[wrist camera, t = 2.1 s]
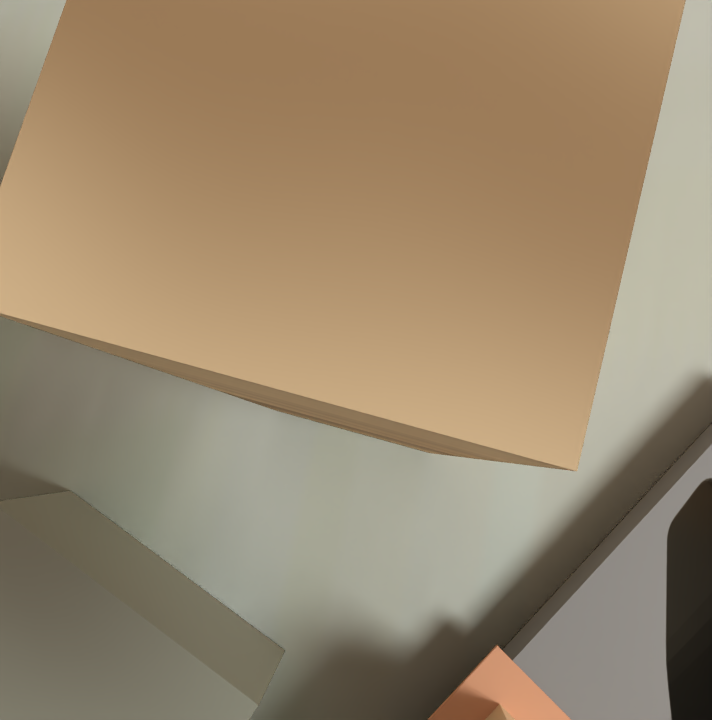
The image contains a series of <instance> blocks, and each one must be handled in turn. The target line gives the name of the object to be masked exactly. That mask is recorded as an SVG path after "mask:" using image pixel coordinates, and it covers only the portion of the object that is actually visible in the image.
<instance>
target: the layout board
mask: <svg viewBox="0 0 712 720" xmlns="http://www.w3.org/2000/svg"><path fill="white" fill-rule="evenodd" d="M707 478H712V423H711V424H710V425H709V427H708V428H707V429H706V430H705V431H704V432H703V433H702V434H701V435H700V436H699V437H698V438H697V440H696V441H695V442H694V443H693V444H692V445H691V446H690V447H689V448H688V449H687V450H686V451H685V453H684V454H683V455H682V456H681V457H680V458H679V459H678V460H677V461H676V462H675V463H674V464H673V466H672V467H671V468H670V469H669V470H668V471H667V472H666V473H665V474H664V475H663V476H662V477H661V479H660V480H659V481H658V482H657V483H656V484H655V485H654V486H653V487H652V488H651V489H650V490H649V492H648V493H647V494H646V495H645V496H644V497H643V498H642V499H641V500H640V501H639V502H638V503H637V505H636V506H635V507H634V508H633V509H632V510H631V511H630V512H629V513H628V514H627V515H626V516H625V518H624V519H623V520H622V521H621V522H620V523H619V524H618V525H617V526H616V527H615V528H614V529H613V531H612V532H611V533H610V534H609V535H608V536H607V537H606V538H605V539H604V540H603V541H602V542H601V544H600V545H599V546H598V547H597V548H596V549H595V550H594V551H593V552H592V553H591V554H590V555H589V557H588V558H587V559H586V560H585V561H584V562H583V563H582V564H581V565H580V566H579V567H578V568H577V570H576V571H575V572H574V573H573V574H572V575H571V576H570V577H569V578H568V579H567V580H566V581H565V583H564V584H563V585H562V586H561V587H560V588H559V589H558V590H557V591H556V592H555V593H554V594H553V596H552V597H551V598H550V599H549V600H548V601H547V602H546V603H545V604H544V605H543V606H542V607H541V609H540V610H539V611H538V612H537V613H536V614H535V615H534V616H533V617H532V618H531V619H530V620H529V622H528V623H527V624H526V625H525V626H524V627H523V628H522V629H521V630H520V631H519V632H518V633H517V635H516V636H515V637H514V638H513V639H512V640H511V641H510V642H509V643H508V644H507V645H506V646H505V648H504V649H503V650H502V649H501V648H500V647H499V646H498V645H496V646H495V647H494V648H493V649H492V650H491V651H490V652H489V654H488V655H487V656H486V657H485V658H484V659H483V660H482V661H481V662H480V663H479V664H478V665H477V667H476V668H475V669H474V670H473V671H472V672H471V673H470V674H469V675H468V676H467V677H466V678H465V679H464V681H463V682H462V683H461V684H460V685H459V686H458V687H457V688H456V689H455V690H454V691H453V692H452V694H451V695H450V696H449V697H448V698H447V699H446V700H445V701H444V702H443V703H442V704H441V705H440V707H439V708H438V709H437V710H436V711H435V712H434V713H433V714H432V715H431V716H430V717H429V718H428V720H672V719H671V710H670V700H669V691H668V680H667V668H666V567H667V534H668V530H669V526H670V524H671V522H672V520H673V518H674V517H675V516H676V514H677V513H678V512H679V510H680V509H681V508H682V506H683V505H684V504H685V502H686V501H687V500H688V498H689V497H690V496H691V494H692V493H693V492H694V491H695V489H696V488H697V487H698V485H699V484H700V483H701V482H702V481H704V480H705V479H707Z"/></svg>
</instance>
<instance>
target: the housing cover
mask: <svg viewBox="0 0 712 720" xmlns="http://www.w3.org/2000/svg"><path fill="white" fill-rule="evenodd" d="M284 652H285V650H284V649H282V648H281V647H280V646H278V645H277V644H276V643H274V642H273V641H272V640H270V639H269V638H268V637H266V636H265V635H264V634H262V633H261V632H260V631H258V630H257V629H255V628H254V627H253V626H251V625H250V624H249V623H247V622H246V621H245V620H243V619H242V618H241V617H239V616H238V615H237V614H235V613H234V612H233V611H231V610H230V609H229V608H227V607H226V606H225V605H223V604H222V603H221V602H219V601H218V600H217V599H215V598H214V597H213V596H211V595H210V594H209V593H207V592H206V591H204V590H203V589H202V588H200V587H199V586H198V585H196V584H195V583H194V582H192V581H191V580H190V579H188V578H187V577H186V576H184V575H183V574H182V573H180V572H179V571H178V570H176V569H175V568H174V567H172V566H171V565H170V564H168V563H167V562H166V561H164V560H163V559H162V558H160V557H159V556H158V555H156V554H155V553H153V552H152V551H151V550H149V549H148V548H147V547H145V546H144V545H143V544H141V543H140V542H139V541H137V540H136V539H135V538H133V537H132V536H131V535H129V534H128V533H127V532H125V531H124V530H123V529H121V528H120V527H119V526H117V525H116V524H115V523H113V522H112V521H111V520H109V519H108V518H107V517H105V516H104V515H102V514H101V513H100V512H98V511H97V510H96V509H94V508H93V507H92V506H90V505H89V504H88V503H86V502H85V501H84V500H82V499H81V498H80V497H78V496H77V495H76V494H74V493H73V492H72V491H66V492H59V493H52V494H44V495H37V496H30V497H23V498H16V499H9V500H2V501H0V720H249V719H250V718H251V716H252V715H253V713H254V712H255V710H256V709H257V707H258V706H259V704H260V702H261V700H262V698H263V695H264V693H265V691H266V689H267V687H268V685H269V683H270V681H271V679H272V677H273V675H274V673H275V671H276V669H277V666H278V664H279V662H280V660H281V658H282V656H283V654H284Z"/></svg>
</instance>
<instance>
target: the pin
mask: <svg viewBox="0 0 712 720" xmlns="http://www.w3.org/2000/svg"><path fill="white" fill-rule="evenodd" d="M685 1H686V0H67V1H66V3H65V6H64V9H63V12H62V15H61V17H60V20H59V23H58V26H57V29H56V31H55V34H54V37H53V40H52V43H51V45H50V48H49V51H48V54H47V57H46V59H45V62H44V65H43V68H42V71H41V73H40V76H39V79H38V82H37V85H36V87H35V90H34V93H33V96H32V99H31V101H30V104H29V107H28V110H27V113H26V115H25V118H24V121H23V124H22V127H21V129H20V132H19V135H18V138H17V141H16V143H15V146H14V149H13V152H12V155H11V157H10V160H9V163H8V166H7V169H6V171H5V174H4V177H3V180H2V183H1V185H0V316H2V317H5V318H8V319H11V320H14V321H16V322H19V323H22V324H25V325H28V326H31V327H34V328H37V329H40V330H43V331H46V332H49V333H52V334H54V335H57V336H60V337H63V338H66V339H69V340H72V341H75V342H78V343H81V344H84V345H87V346H89V347H92V348H95V349H98V350H101V351H104V352H107V353H110V354H113V355H116V356H119V357H122V358H124V359H127V360H130V361H133V362H136V363H139V364H142V365H145V366H148V367H151V368H154V369H157V370H160V371H162V372H165V373H168V374H171V375H174V376H177V377H180V378H183V379H186V380H189V381H192V382H195V383H197V384H200V385H203V386H206V387H209V388H212V389H215V390H218V391H221V392H224V393H227V394H230V395H232V396H235V397H238V398H241V399H244V400H247V401H250V402H253V403H256V404H259V405H262V406H265V407H268V408H270V409H273V410H276V411H280V412H283V413H287V414H291V415H294V416H298V417H302V418H305V419H309V420H312V421H316V422H320V423H323V424H327V425H330V426H334V427H338V428H341V429H345V430H348V431H352V432H356V433H359V434H363V435H367V436H370V437H374V438H377V439H381V440H385V441H388V442H392V443H395V444H399V445H403V446H406V447H410V448H414V449H417V450H421V451H424V452H428V453H434V454H442V455H450V456H458V457H466V458H474V459H482V460H490V461H499V462H507V463H515V464H523V465H531V466H539V467H547V468H555V469H563V470H571V471H577V469H578V464H579V460H580V456H581V451H582V447H583V443H584V438H585V434H586V430H587V425H588V421H589V417H590V412H591V408H592V404H593V399H594V395H595V391H596V386H597V382H598V378H599V373H600V369H601V365H602V360H603V356H604V352H605V347H606V343H607V339H608V334H609V330H610V326H611V321H612V317H613V313H614V308H615V304H616V300H617V295H618V291H619V287H620V282H621V278H622V274H623V269H624V265H625V261H626V256H627V252H628V248H629V243H630V239H631V235H632V230H633V226H634V222H635V217H636V213H637V209H638V204H639V200H640V196H641V191H642V187H643V183H644V178H645V174H646V170H647V165H648V161H649V157H650V152H651V148H652V144H653V139H654V135H655V131H656V126H657V122H658V118H659V113H660V109H661V105H662V100H663V96H664V92H665V87H666V83H667V79H668V74H669V70H670V66H671V61H672V57H673V53H674V48H675V44H676V40H677V35H678V31H679V27H680V22H681V18H682V14H683V9H684V5H685Z"/></svg>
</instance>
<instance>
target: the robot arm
mask: <svg viewBox="0 0 712 720" xmlns="http://www.w3.org/2000/svg"><path fill="white" fill-rule="evenodd" d="M666 668H667V680H668V691H669V700H670V710H671V719H672V720H712V478H707V479H705V480H704V481H702V482H701V483H700V484H699V485H698V487H697V488H696V489H695V491H694V492H693V493H692V494H691V496H690V497H689V498H688V500H687V501H686V502H685V504H684V505H683V506H682V508H681V509H680V510H679V512H678V513H677V514H676V516H675V517H674V518H673V520H672V522H671V524H670V526H669V530H668V534H667V567H666Z"/></svg>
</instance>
